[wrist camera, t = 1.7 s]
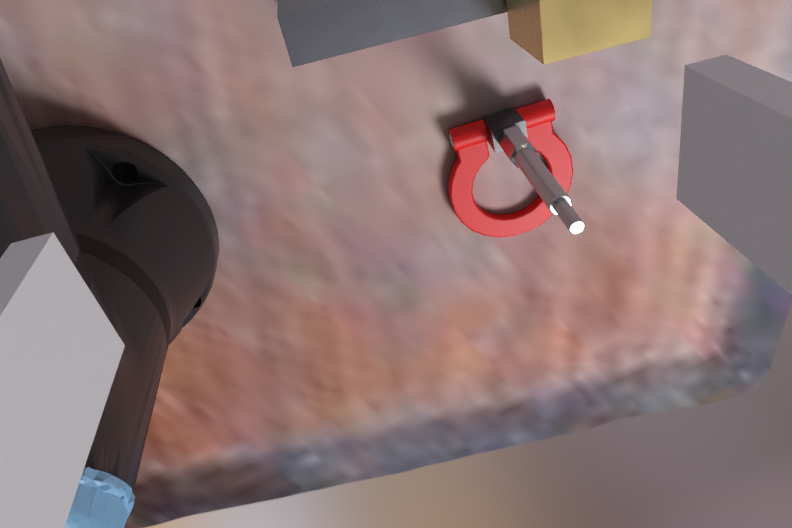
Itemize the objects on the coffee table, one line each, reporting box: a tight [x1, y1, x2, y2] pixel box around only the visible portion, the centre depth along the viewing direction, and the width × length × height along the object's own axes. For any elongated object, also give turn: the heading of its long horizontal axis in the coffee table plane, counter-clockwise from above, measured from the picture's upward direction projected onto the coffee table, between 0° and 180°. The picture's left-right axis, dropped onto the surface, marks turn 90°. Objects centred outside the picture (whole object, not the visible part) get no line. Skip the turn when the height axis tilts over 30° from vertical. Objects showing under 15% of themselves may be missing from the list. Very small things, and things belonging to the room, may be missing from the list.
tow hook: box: [448, 99, 585, 237], centre depth 36 cm, size 8×13×9 cm
